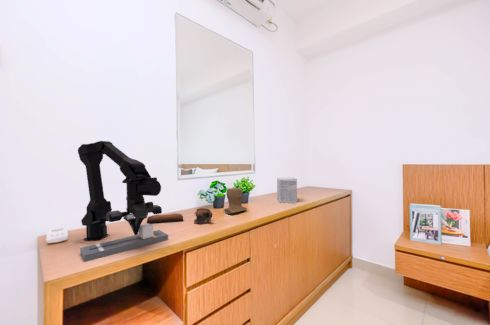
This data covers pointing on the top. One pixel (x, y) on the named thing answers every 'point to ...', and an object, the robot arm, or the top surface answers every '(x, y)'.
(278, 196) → the supplement box
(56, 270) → the top surface
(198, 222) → the pottery mug
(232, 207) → the brown rounded stand
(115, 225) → the top surface
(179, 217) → the sunglasses case
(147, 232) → the fader knob
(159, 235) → the fader track
